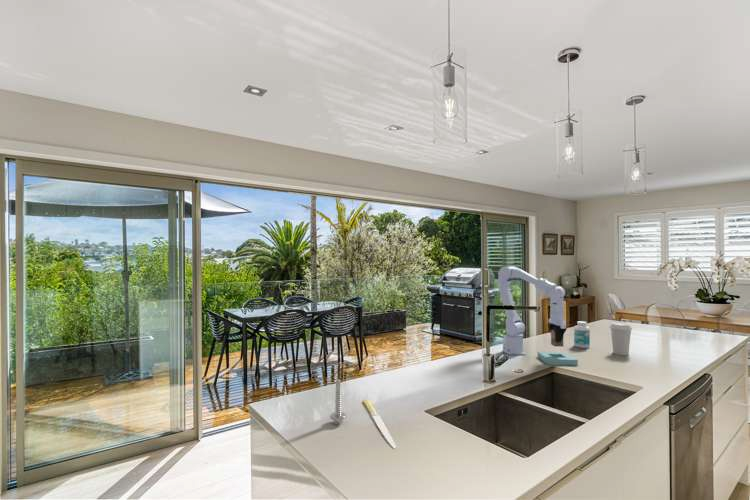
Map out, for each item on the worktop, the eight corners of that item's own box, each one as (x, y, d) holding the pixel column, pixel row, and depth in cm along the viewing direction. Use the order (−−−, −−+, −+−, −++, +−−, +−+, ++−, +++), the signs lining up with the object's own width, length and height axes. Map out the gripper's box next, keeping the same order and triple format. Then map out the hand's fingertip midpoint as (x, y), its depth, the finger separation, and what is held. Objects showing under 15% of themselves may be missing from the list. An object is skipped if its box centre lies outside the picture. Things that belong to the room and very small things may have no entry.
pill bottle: (571, 345, 207) (571, 321, 207) (580, 344, 210) (580, 320, 211) (583, 349, 201) (583, 323, 201) (592, 347, 204) (592, 322, 204)
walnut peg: (554, 346, 177) (554, 331, 177) (551, 344, 181) (551, 329, 181) (563, 346, 176) (563, 331, 176) (559, 344, 180) (559, 329, 180)
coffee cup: (613, 355, 189) (612, 325, 189) (607, 350, 198) (607, 321, 198) (635, 356, 186) (635, 326, 186) (628, 351, 195) (628, 322, 195)
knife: (406, 451, 99) (389, 450, 98) (374, 402, 131) (361, 401, 130) (407, 446, 99) (390, 445, 98) (375, 398, 131) (362, 397, 130)
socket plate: (548, 364, 172) (548, 359, 172) (537, 356, 185) (537, 351, 185) (577, 365, 172) (577, 359, 172) (564, 357, 185) (564, 352, 185)
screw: (326, 423, 113) (338, 417, 117) (338, 428, 110) (349, 422, 114) (326, 379, 113) (338, 375, 117) (338, 383, 110) (349, 379, 114)
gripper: (572, 314, 171) (572, 344, 171) (559, 309, 186) (559, 337, 186) (556, 314, 171) (556, 344, 171) (544, 309, 186) (544, 337, 186)
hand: (556, 341), depth 178 cm, fingers closed on walnut peg, 4 cm apart
